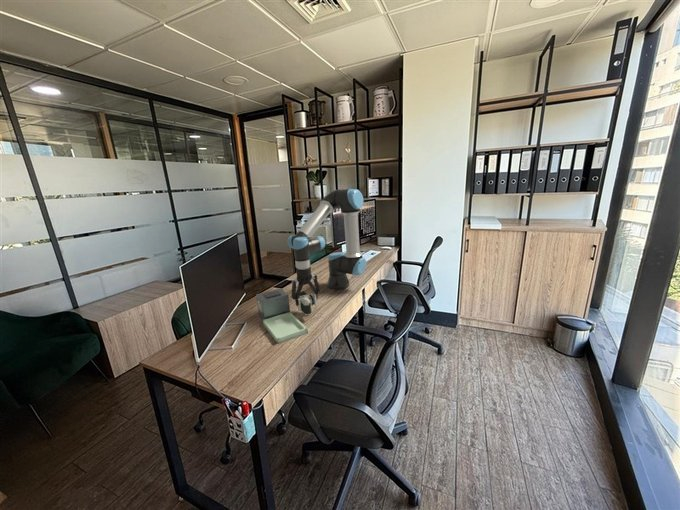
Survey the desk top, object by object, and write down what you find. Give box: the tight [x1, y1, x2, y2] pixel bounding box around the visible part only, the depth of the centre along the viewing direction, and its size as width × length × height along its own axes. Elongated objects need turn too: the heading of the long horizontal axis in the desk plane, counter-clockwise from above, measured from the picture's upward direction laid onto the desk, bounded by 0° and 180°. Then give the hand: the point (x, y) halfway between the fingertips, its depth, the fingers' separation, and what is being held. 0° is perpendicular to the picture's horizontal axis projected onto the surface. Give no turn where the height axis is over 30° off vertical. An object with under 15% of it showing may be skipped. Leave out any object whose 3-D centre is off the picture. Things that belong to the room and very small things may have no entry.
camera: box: [295, 290, 315, 316], centre depth 148 cm, size 16×9×10 cm, turn 30°
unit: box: [255, 288, 291, 321], centre depth 151 cm, size 15×12×12 cm
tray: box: [262, 311, 308, 345], centre depth 137 cm, size 15×22×2 cm
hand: (307, 307), depth 148 cm, fingers closed on camera, 9 cm apart
